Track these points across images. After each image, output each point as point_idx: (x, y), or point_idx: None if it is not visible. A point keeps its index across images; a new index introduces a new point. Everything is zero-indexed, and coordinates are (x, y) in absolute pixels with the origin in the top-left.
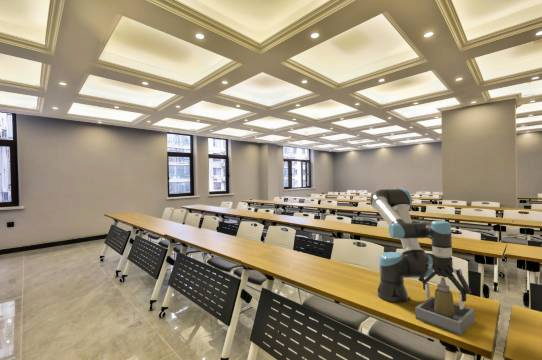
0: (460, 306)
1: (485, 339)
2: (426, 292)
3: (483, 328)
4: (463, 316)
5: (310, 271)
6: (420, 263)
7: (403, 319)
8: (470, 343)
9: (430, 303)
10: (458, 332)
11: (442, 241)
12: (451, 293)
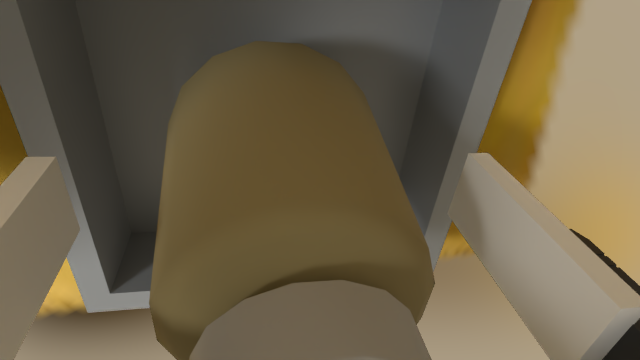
0: (469, 232)
1: (513, 166)
2: (33, 300)
3: (528, 19)
4: (446, 179)
5: None
6: None
7: (80, 300)
8: (442, 253)
9: (48, 15)
10: None
11: None
12: (428, 298)
